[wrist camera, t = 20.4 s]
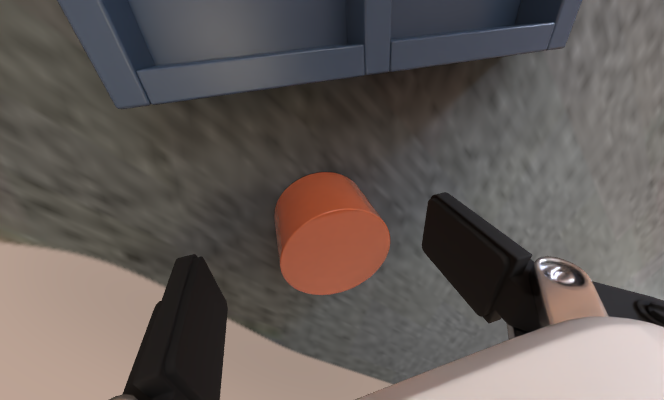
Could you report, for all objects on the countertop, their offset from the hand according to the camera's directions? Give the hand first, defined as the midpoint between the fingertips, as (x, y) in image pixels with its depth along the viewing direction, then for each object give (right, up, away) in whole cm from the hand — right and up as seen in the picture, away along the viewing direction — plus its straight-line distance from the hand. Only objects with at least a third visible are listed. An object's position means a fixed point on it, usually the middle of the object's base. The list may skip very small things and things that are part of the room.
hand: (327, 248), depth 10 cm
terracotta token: (0, +1, +2) cm, 2 cm away
